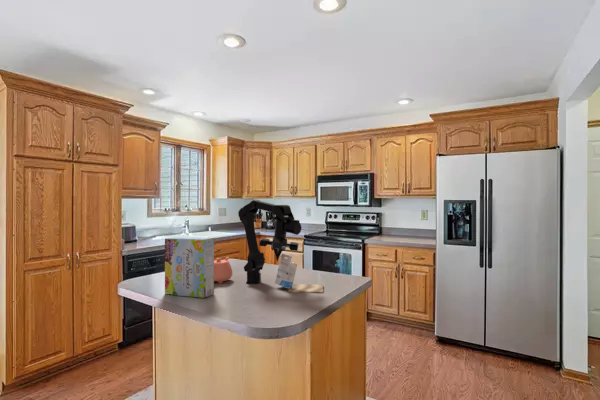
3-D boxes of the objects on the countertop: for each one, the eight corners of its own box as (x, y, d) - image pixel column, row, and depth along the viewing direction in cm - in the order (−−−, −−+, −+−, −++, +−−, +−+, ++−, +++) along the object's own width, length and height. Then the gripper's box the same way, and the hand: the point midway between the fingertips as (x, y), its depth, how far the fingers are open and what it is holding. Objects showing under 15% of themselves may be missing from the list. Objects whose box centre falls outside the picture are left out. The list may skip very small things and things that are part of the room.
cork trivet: (288, 292, 155) (288, 291, 155) (291, 285, 168) (291, 284, 168) (322, 293, 154) (322, 291, 154) (323, 285, 166) (323, 284, 166)
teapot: (239, 277, 186) (239, 255, 186) (221, 286, 167) (221, 261, 167) (217, 276, 190) (217, 254, 190) (197, 284, 170) (197, 260, 170)
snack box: (215, 293, 153) (215, 237, 153) (204, 299, 145) (203, 239, 145) (176, 289, 160) (176, 236, 160) (163, 294, 152) (163, 238, 152)
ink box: (292, 288, 160) (299, 258, 162) (284, 287, 157) (291, 256, 159) (282, 284, 167) (289, 255, 169) (274, 282, 164) (281, 253, 166)
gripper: (258, 230, 156) (255, 263, 158) (298, 236, 155) (294, 268, 156) (263, 226, 167) (260, 257, 169) (300, 231, 166) (296, 262, 167)
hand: (277, 261), depth 165 cm, fingers closed
